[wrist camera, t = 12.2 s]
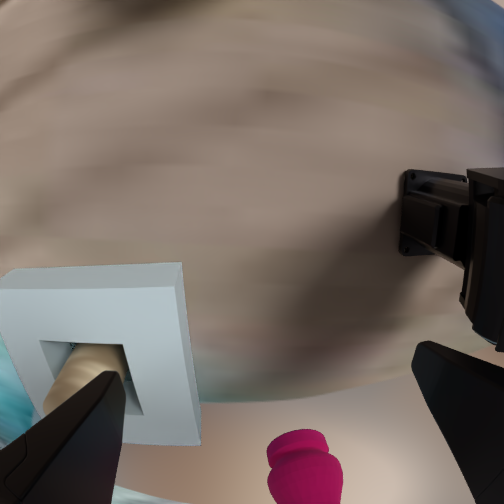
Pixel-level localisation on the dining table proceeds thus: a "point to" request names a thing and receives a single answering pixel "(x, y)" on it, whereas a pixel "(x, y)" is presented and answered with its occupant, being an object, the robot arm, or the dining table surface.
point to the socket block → (109, 339)
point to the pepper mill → (303, 469)
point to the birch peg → (85, 370)
